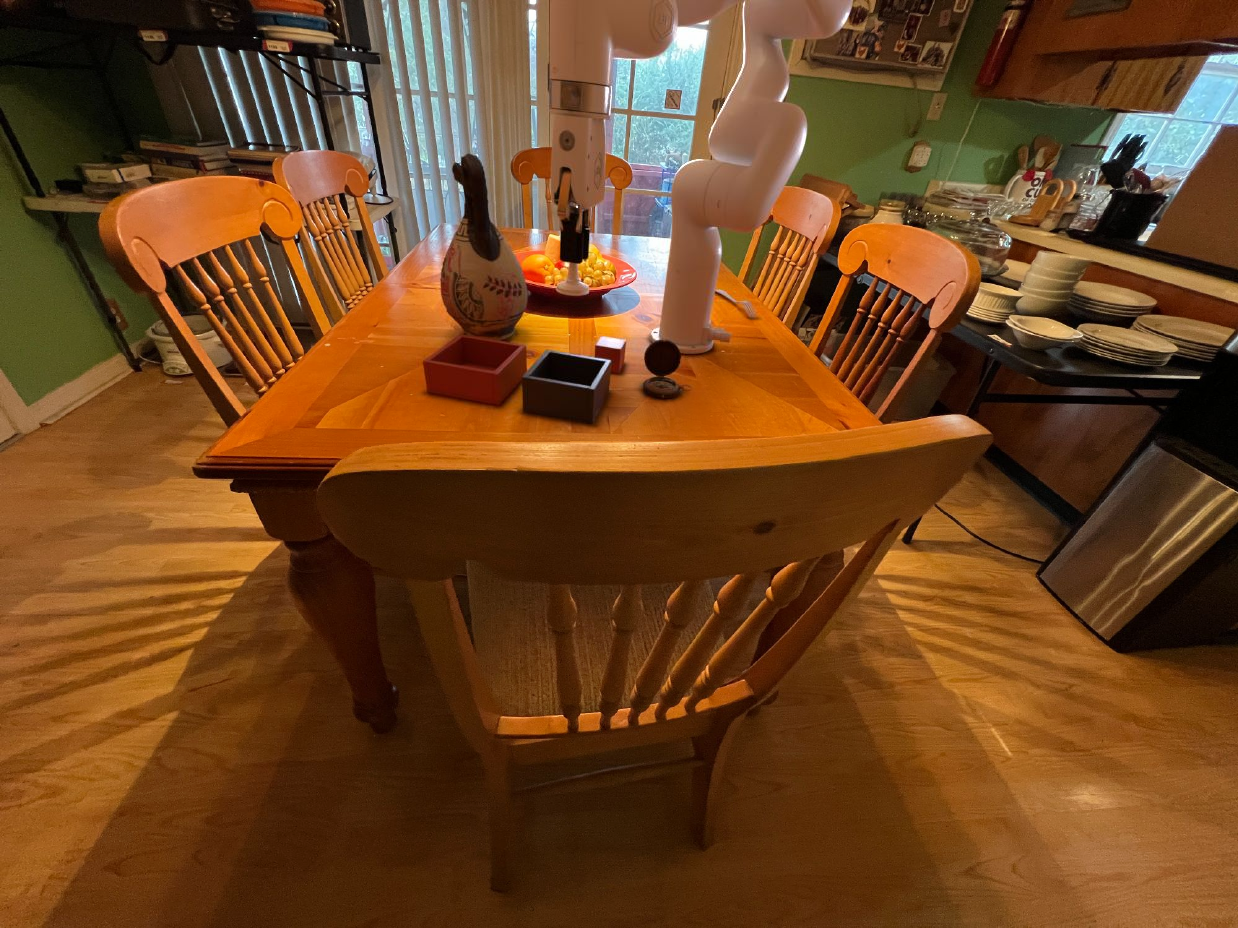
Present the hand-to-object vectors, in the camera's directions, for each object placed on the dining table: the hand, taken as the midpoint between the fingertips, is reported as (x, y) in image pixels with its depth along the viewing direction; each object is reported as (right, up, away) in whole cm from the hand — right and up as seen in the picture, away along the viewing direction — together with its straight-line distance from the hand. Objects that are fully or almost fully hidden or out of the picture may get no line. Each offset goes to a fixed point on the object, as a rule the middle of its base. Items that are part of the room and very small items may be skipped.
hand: (574, 259), depth 72 cm
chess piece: (-1, -4, +3) cm, 5 cm away
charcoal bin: (-1, -20, +5) cm, 21 cm away
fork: (+35, +11, +54) cm, 65 cm away
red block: (+5, -12, +17) cm, 22 cm away
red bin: (-16, -16, +8) cm, 24 cm away
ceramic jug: (-19, -5, +25) cm, 31 cm away
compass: (+14, -17, +12) cm, 25 cm away
